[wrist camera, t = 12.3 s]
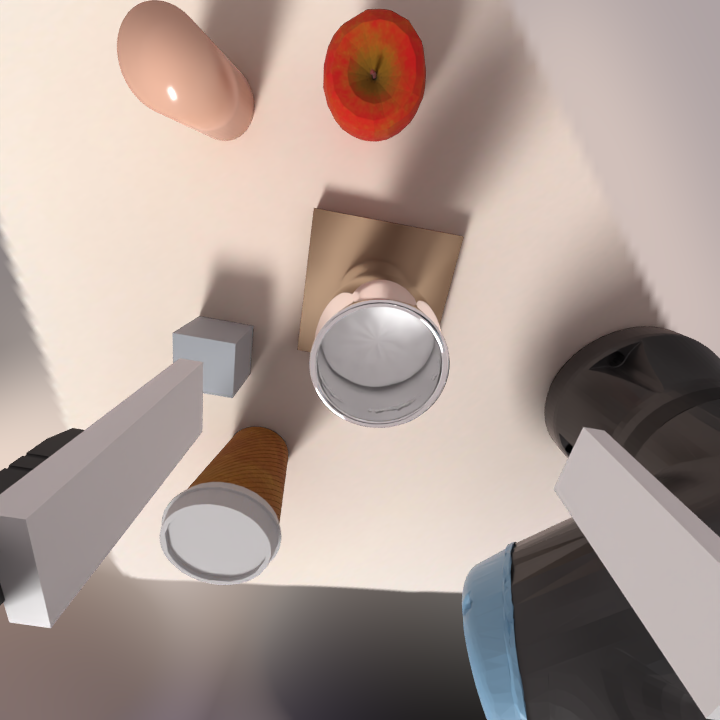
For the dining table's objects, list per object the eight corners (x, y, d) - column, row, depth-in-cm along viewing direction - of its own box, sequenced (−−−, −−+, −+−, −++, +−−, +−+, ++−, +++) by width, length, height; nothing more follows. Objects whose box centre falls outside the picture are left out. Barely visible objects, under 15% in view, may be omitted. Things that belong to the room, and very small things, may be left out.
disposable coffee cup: (315, 475, 40) (294, 577, 29) (236, 493, 41) (187, 597, 30) (284, 403, 37) (248, 487, 25) (199, 424, 38) (129, 513, 27)
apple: (357, 31, 25) (354, -37, 18) (431, 84, 26) (455, 38, 19) (317, 123, 27) (299, 94, 20) (387, 169, 28) (393, 155, 21)
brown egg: (256, 68, 26) (211, 11, 19) (251, 146, 28) (209, 123, 21) (186, 53, 26) (113, -10, 18) (186, 133, 28) (120, 105, 20)
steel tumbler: (332, 254, 29) (299, 294, 16) (418, 253, 29) (462, 294, 15) (334, 335, 32) (309, 431, 18) (413, 335, 32) (447, 432, 18)
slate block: (253, 325, 34) (235, 343, 29) (250, 373, 35) (232, 398, 31) (199, 316, 33) (172, 332, 29) (199, 364, 35) (173, 388, 31)
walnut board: (459, 235, 30) (463, 236, 29) (424, 365, 35) (426, 372, 33) (316, 208, 29) (313, 208, 28) (300, 344, 34) (297, 349, 33)
